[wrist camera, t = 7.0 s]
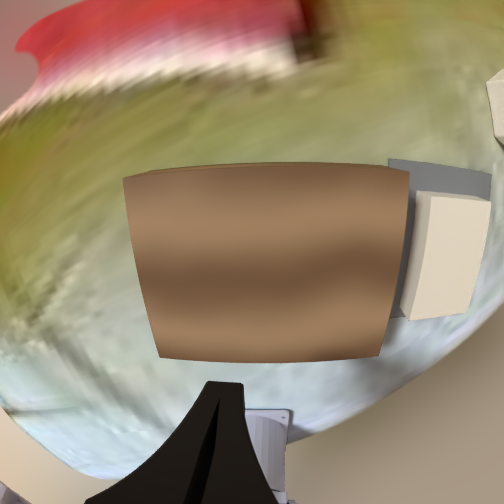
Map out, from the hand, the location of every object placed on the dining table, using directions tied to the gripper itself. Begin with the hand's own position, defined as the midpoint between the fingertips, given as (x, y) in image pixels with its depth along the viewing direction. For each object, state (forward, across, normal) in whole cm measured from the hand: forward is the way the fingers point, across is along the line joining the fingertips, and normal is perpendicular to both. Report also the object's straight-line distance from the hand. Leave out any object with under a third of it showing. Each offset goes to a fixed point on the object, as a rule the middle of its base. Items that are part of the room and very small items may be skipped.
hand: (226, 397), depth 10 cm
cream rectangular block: (+8, -15, -2) cm, 17 cm away
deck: (+10, -2, -2) cm, 11 cm away
